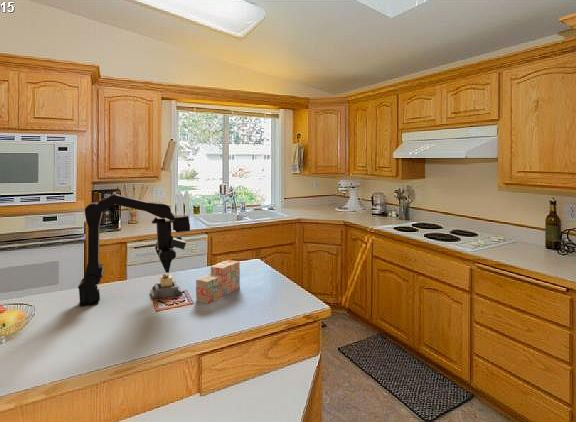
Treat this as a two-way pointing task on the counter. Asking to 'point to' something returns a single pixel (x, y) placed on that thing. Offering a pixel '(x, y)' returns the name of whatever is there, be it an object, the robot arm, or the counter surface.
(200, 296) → the stack of blocks
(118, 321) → the counter surface
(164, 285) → the brass knobbed block
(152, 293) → the chassis
